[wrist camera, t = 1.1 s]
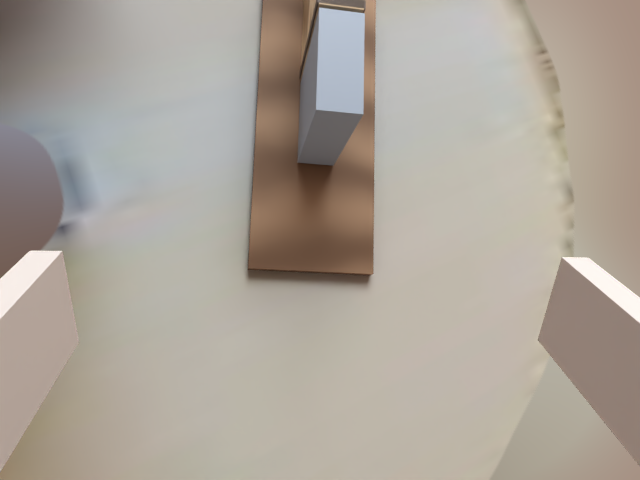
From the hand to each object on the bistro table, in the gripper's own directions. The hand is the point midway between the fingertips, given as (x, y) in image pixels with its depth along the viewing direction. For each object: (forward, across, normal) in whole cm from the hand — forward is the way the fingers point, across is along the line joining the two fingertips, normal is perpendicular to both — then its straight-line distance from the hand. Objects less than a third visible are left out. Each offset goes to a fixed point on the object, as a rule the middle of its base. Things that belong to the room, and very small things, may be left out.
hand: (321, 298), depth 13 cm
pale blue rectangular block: (+30, +2, -1) cm, 30 cm away
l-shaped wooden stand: (+32, +2, 0) cm, 32 cm away
